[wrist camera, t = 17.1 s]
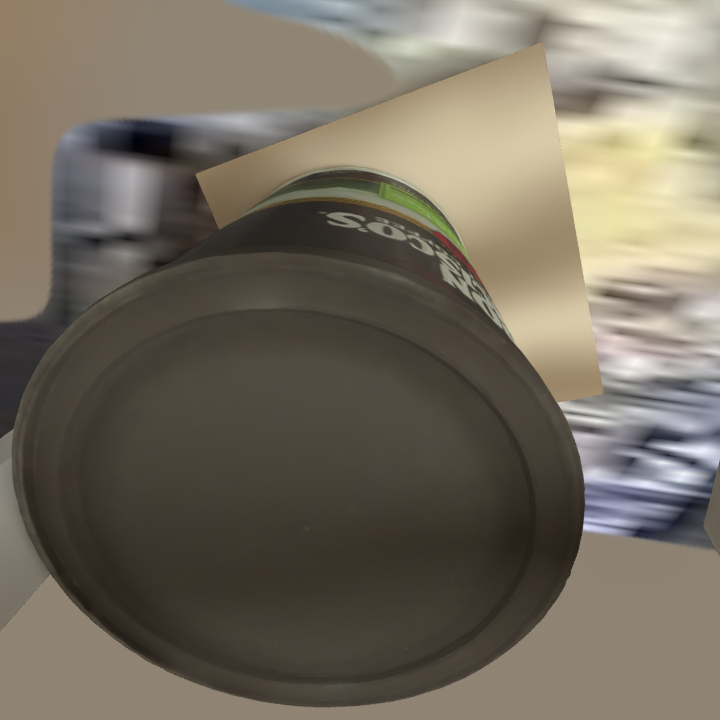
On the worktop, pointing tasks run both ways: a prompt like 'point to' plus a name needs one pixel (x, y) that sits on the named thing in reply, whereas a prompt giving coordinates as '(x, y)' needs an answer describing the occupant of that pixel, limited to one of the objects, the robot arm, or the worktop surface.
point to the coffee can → (304, 456)
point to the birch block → (466, 196)
